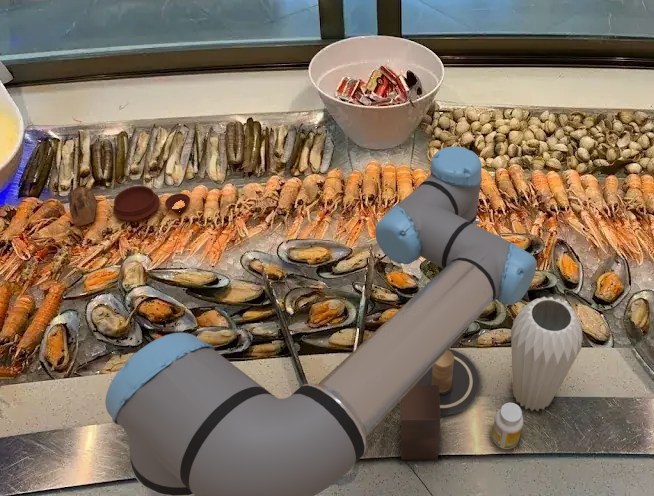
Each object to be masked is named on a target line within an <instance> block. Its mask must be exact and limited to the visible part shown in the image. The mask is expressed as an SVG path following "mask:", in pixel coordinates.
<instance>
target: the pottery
mask: <svg viewBox="0 0 654 496" xmlns="http://www.w3.org/2000/svg"><path fill="white" fill-rule="evenodd" d="M180 200H182V201H184V203H185V206H184V207H182V208H179V209H172V207H173V206H174V204H175V203H176V202H178V201H180ZM190 202H191V198H190V196H189V195H187V194H185V193H175V194H172V195H170V196H168V198H166V199H165V202H164V205H165V207H166V208H167V209H168V210H169V211H172V212H174V213H175V214H176V215H177V214H178V215H181V214H183V213H185V212H186V210H187V208H188V206H189V205H190ZM160 203H161V200H160V197H159V195H158V194H157V193H155V192H154V191H153V189H152V188H150V187H148V186H144V185H134V186H131V187H127V188H125V189H122V190H121V191H119V192H118V194H116V196H115V198H114V200H113V208H112V209H113V211H112V212H113V214H114V216H115V217H116V218H118V219H120V220H122V221H128V222H129V221H138V220H141V219H145V218H147V217H149V216H150V215H152V214H153V213H155V212H156V211H157V209H158V208H159V206H160ZM179 211H180V212H179Z"/></svg>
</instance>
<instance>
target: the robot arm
mask: <svg viewBox="0 0 654 496" xmlns="http://www.w3.org/2000/svg"><path fill="white" fill-rule="evenodd" d="M429 171H430V174H429V176H428V177H427V178H426V179H424V180H423V181H422V182H421V183H420V184H419V185H418V186H417V188H415V189H414V190H413V191H412V192H410V194H408V195H407V196H406V197H405V198H403V199H402V200H401V201H400V202H398V203H397V204H396V205H393V206H392V207H391V208H390V209H389V210H388V211H387V212H386V213H385V214H384V215H383V216H382V218H381V219H380V220H379V221H378V222H377V224H376V226H375V232H374V233H375V234H374V235H375V241H376V243H377V244H378V247H379V248H380V250H381V252H382V253H383V254H384V255H385V257H387V258H388V259H389V260H391V261H392V262H394V263H396V264H403V265H411V264H412V263H414V262H415V261H418V260H419V259H420V258H423V259H425V260H426V261H428V262H430V263H432V264H433V265H436V266H437V271H438V273H437V274H436V275H435V276H433V278H432V279H431V280H430V281H429V282H427V284H425V285H424V286H423V287H422V288H421V289H419V291H418V292H416V294H415V295H413V296H412V297H411V298H410V299H409V300H408V301H407V302H406V303H404V305H403V306H401V307H400V308H399V309H398V310H397V311H396V312H395V313H394V314H392V315H391V316H390V317H389V318H388V319H387V320H386V321H385V322H384V323H383V324H382V325H381V326H379V327H378V328H377V329H376V330H375V331H374V332H373V333H372V334H370V336H369V337H368V338H366V339H365V340H364V341H363V342H362V343H361V344H360V345H359V346H358V347H356V349H354V350H353V351H352V352H351V353H350V354H349V355H348V356H347V357H346V358H345V359H343V361H341V362H340V363H339V364H338V365H337V366H336V367H335V368H334V369H333V370H331V371H330V372H329V373H328V374H327V375H326V376H325V377H324V378H323V379H322V380H321V381H319V383H304V384H302V385H301V386H299V388H297V389H296V390H295V391H294V392H293V393H292V394H290V395H289V396H288V397H285V398H278V397H277V396H275V395H274V394H272V392H270V391H268V390H267V388H265V387H264V386H262V384H260V383H258V381H255V380H254V379H253V378H251V377H250V376H249V375H248V374H247V373H245V372H244V371H242V370H241V369H240V368H238V367H237V366H236V365H235V364H233V363H232V362H230V361H229V360H228V359H227V358H225V357H224V356H223V355H222V354H220V353H219V352H217V351H216V348H215V346H214V345H213V344H211V343H207V342H206V341H205V342H204V341H203V340H202V339H201V338H199V337H198V336H196V335H194V334H191V333H188V332H174V333H173V332H172V333H169V334H165V335H163V336H160V337H158V338H156V339H154V340H152V341H150V342H149V343H148V344H146V345H144V346H143V347H141V348H140V349H139V350H138V351H136V352H135V353H134V354H133V355H132V356H130V358H128V359H127V361H126V362H125V364H124V365H123V366H122V367H121V368H120V369H119V370H118V371H117V372H116V374H115V376H114V377H113V379H112V380H111V382H110V384H109V386H108V388H107V392H106V395H105V400H104V401H105V402H104V403H105V409H106V412H107V413H108V415H109V416H110V417H111V419H112V420H111V421H112V423H114V424H115V425H117V426H120V427H122V429H123V430H124V431H125V433H126V434H127V436H128V442H129V459H130V467H131V470H132V473H133V474H132V475H133V476H134V477H135V479H136V480H137V481H138V483H139V484H140V485H141V486H143V487H144V488H145V489H146V496H317V495H319V494H320V493H322V492H323V491H325V490H327V489H328V488H330V487H331V486H332V485H334V484H335V483H337V482H338V481H340V479H342V478H343V477H344V476H345V475H346V474H347V473H348V472H350V470H351V469H352V468H353V467H354V466H355V465H356V464H357V463H358V462H359V461H360V459H362V458H363V456H364V455H365V454H366V452H367V437H368V436H369V435H370V434H371V433H372V432H373V431H374V430H375V429H376V428H377V426H378V425H379V424H380V423H382V421H383V420H384V419H385V418H386V417H387V416H388V415H389V414H390V413H391V412H392V410H394V408H395V407H396V406H397V405H398V404H399V403H401V399H402V398H403V397H404V396H405V395H406V394H407V393H408V392H409V391H410V390H411V389H412V388H413V387H414V385H415V384H416V383H417V382H418V381H419V380H420V379H421V378H422V377H423V376H424V375H425V374H426V373H427V371H428V370H429V369H430V368H431V367H432V366H433V365H434V364H435V363H436V362H437V361H438V360H439V359H440V357H441V356H442V355H443V354H444V353H445V352H446V351H447V350H448V349H451V348H452V346H453V345H454V344H455V343H456V342H457V341H458V339H459V338H461V336H462V335H463V334H464V333H465V332H466V331H467V330H468V329H469V327H471V326H472V324H474V322H475V321H476V320H477V319H478V318H479V317H480V316H481V315H482V313H484V311H485V310H486V309H488V308H489V306H490V305H491V304H492V303H493V302H494V301H498V302H499V303H502V304H505V305H507V306H514V305H515V304H518V303H519V302H521V300H522V299H523V298H524V296H525V295H526V294H527V292H528V291H529V289H530V288H531V285H532V283H533V280H534V278H535V276H536V271H537V260H536V258H535V256H534V255H533V254H531V253H530V252H528V251H526V250H525V249H523V248H522V247H520V246H518V245H517V244H515V243H514V242H512V241H509V240H507V239H505V238H503V237H502V236H499V235H497V234H495V233H493V232H491V231H489V230H487V229H485V228H483V227H482V226H479V225H480V224H481V219H480V217H477V216H478V207H479V198H480V192H481V184H482V180H483V178H482V161H481V159H480V157H479V156H478V154H476V152H474V151H473V150H470V149H468V148H467V147H464V146H458V145H457V146H456V145H454V146H453V145H451V146H447V147H442V148H441V149H439V150H438V151H436V152H435V153H434V154H433V156H432V159H431V164H430V166H429Z"/></svg>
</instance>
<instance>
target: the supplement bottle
mask: <svg viewBox="0 0 654 496" xmlns="http://www.w3.org/2000/svg"><path fill="white" fill-rule="evenodd" d="M523 426H524V416H523V412H522V408H521V406H520V405H518V404H517V403H514V402H506V403H503V405H501V407H500V409H499V410H497V412H496V414H495V417H494V422H493V427H492V431H491V439H492V441H493V443H494V445H496V446H497V447H498V448H500V449H503V450H511V449H514V448H516V446H517V445H518V443H519V441H520V437H521V434H522V429H523Z"/></svg>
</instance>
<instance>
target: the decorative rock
mask: <svg viewBox="0 0 654 496" xmlns="http://www.w3.org/2000/svg"><path fill="white" fill-rule="evenodd" d="M67 199H68V204H69V205H68V206H69V207H68V208H69V213H70V217H71V220H72V223H73V224H74V225H75V226H77V227H81V226H85V225H89V224H90V223H93V222H94V221H95V216H96V210H97V206H98V205H97V204H98V202H97V198H96V196H95V195H94V193H93V191H92V190H91V189H87V188H86V187H85V186H76V187H75V188H74V189H73V190H71V191H70V192H69V193H68V195H67Z"/></svg>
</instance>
